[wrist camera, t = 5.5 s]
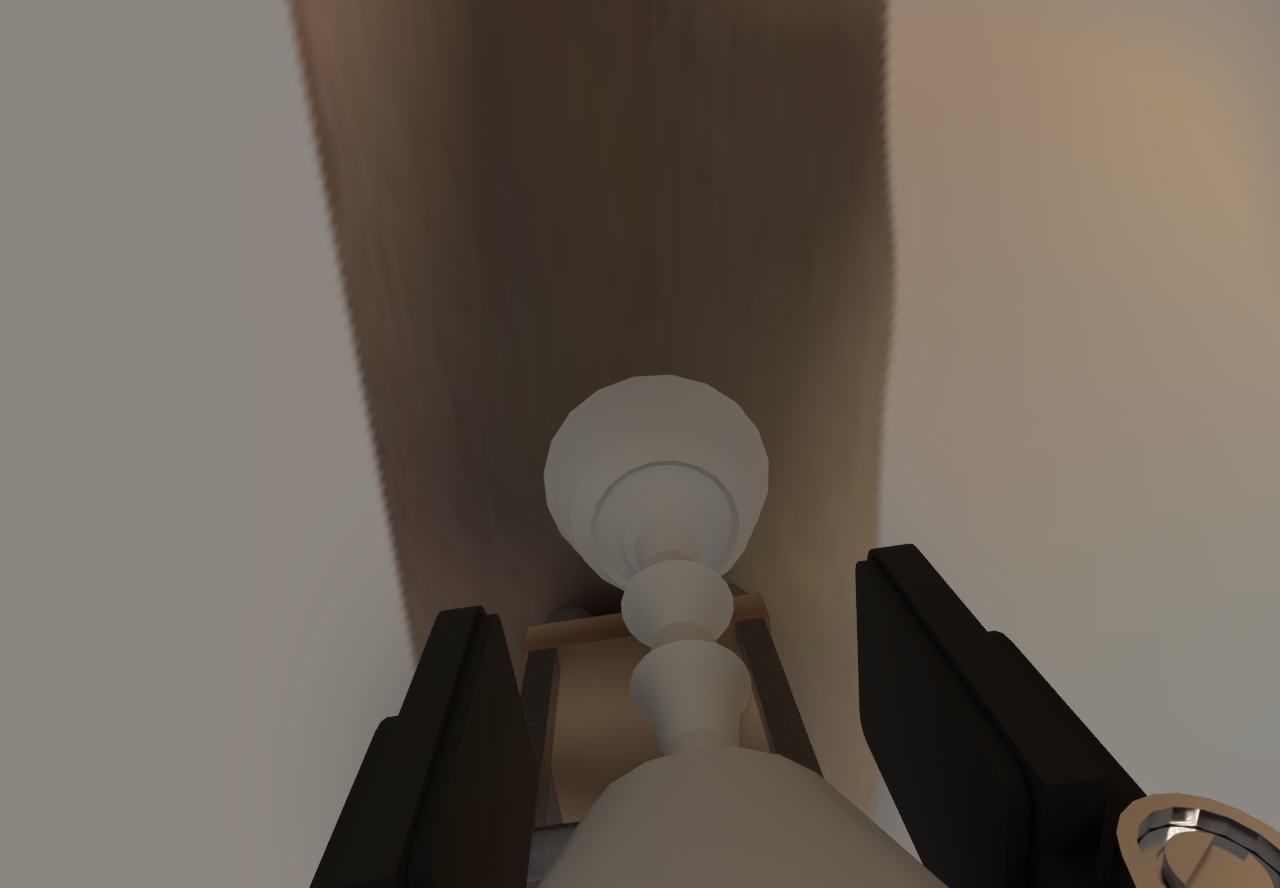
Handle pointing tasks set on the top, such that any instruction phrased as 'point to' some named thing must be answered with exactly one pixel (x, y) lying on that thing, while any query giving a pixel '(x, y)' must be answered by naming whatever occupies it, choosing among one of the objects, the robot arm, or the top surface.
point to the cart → (629, 709)
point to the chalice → (692, 659)
